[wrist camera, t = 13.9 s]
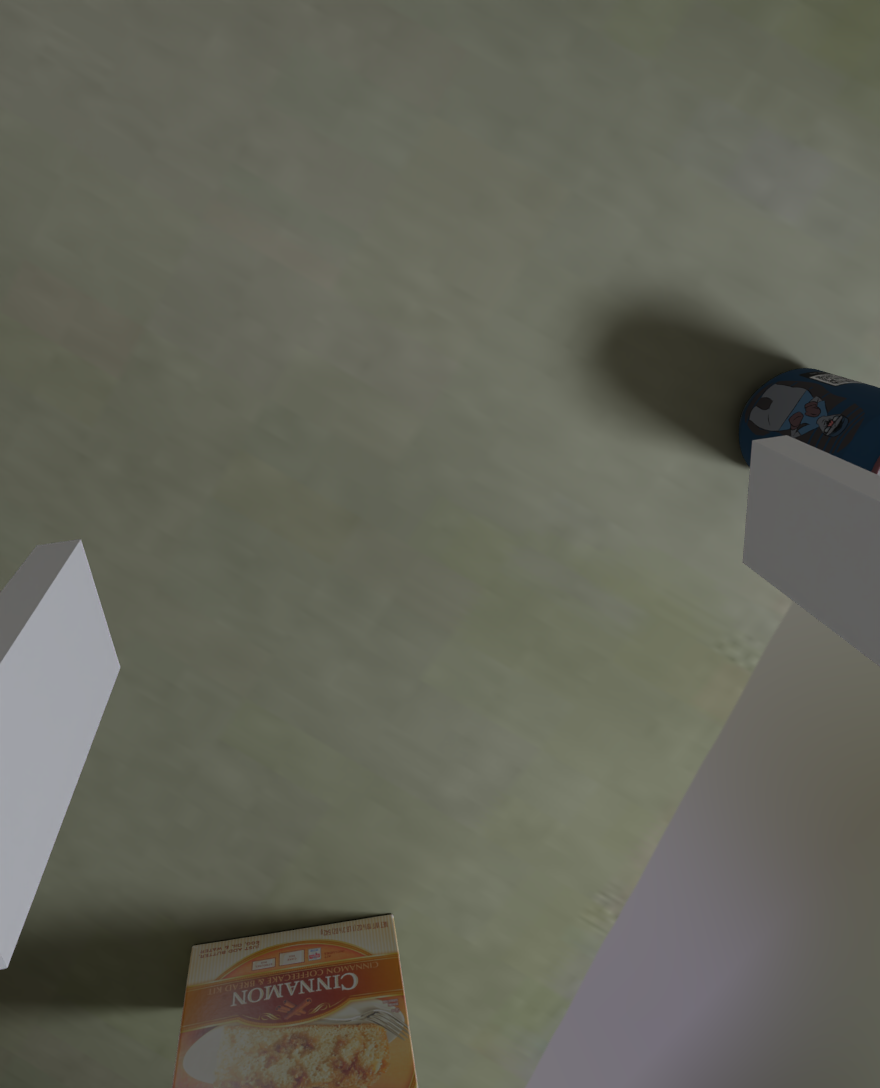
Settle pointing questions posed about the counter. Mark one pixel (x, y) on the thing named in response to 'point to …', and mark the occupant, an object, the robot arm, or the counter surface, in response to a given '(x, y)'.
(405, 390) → the counter surface
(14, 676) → the robot arm
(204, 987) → the coffeecake box
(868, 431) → the soda can
